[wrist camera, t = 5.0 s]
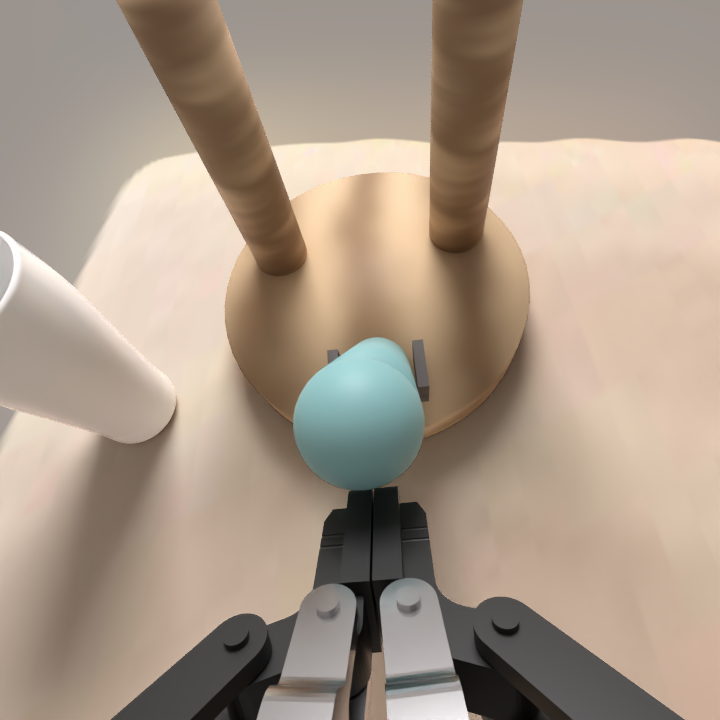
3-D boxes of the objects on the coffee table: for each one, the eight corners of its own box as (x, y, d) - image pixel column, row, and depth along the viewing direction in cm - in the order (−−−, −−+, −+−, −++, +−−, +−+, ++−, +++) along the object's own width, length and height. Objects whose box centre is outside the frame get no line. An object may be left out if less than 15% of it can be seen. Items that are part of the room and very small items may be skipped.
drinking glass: (204, 374, 33) (51, 233, 19) (164, 467, 30) (-45, 381, 17) (124, 356, 34) (-72, 214, 21) (79, 444, 32) (-177, 347, 18)
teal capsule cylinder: (405, 332, 27) (421, 356, 11) (412, 392, 27) (437, 506, 11) (344, 339, 27) (268, 373, 11) (351, 399, 28) (288, 519, 11)
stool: (491, 185, 37) (553, -177, 19) (552, 429, 28) (769, 187, 10) (245, 220, 38) (93, -82, 21) (233, 461, 30) (-43, 296, 12)
